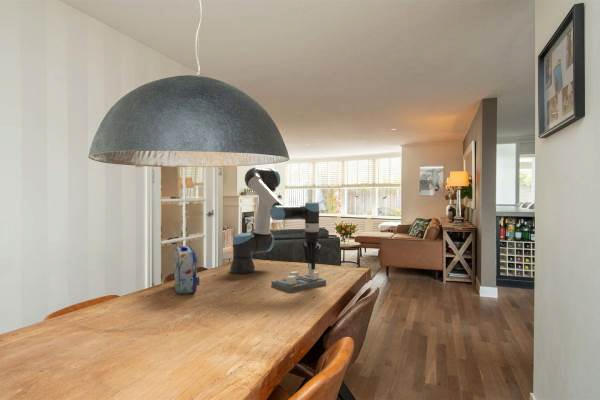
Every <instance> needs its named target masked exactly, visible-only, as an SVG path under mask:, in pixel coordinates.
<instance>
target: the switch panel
mask: <svg viewBox="0 0 600 400" xmlns="http://www.w3.org/2000/svg"><path fill="white" fill-rule="evenodd" d="M322 286H327V279H324V278H322V277H319V279H316V280H313V279H310V276H309V274H305V275H304V274H303V275H299V279H296V284H292V285H290V284H287V283H286V278H283V279H278V280H277V279H276V280H272V281H271V287H272V288H273V287H274V288H276V289H279V290H282V291H284V292H285V291H286V292H289V293H295V292H299V291H304V290H308V289H309V290H310V289H314V288H318V287H322Z"/></svg>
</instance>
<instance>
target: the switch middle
mask: <svg viewBox="0 0 600 400" xmlns="http://www.w3.org/2000/svg"><path fill="white" fill-rule="evenodd" d="M289 276H296V279H299V276H300V272H299V271H289Z"/></svg>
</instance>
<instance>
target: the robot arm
mask: <svg viewBox="0 0 600 400" xmlns="http://www.w3.org/2000/svg"><path fill="white" fill-rule="evenodd" d="M244 183H245V186H246V187H247V188H248V189H249V190H251V191H253V192H254V193H255V195H257V197H258V202H257V213H256V226H255V229H254V230H252V231H253V232H242V233H241V232H240V233H237V234H235V235H234V236H233V239H232V260H231V261H232V262H231V264H230V268H229V272H230V273H231V274H237V275H240V274H252V273H254V272H255V271H256V270H255V269H256V268H255V267H256V266H255V264H254V261H253V254H259V253H267V252H271V251H272V250H273V248H274V245H275V237H274V235H273V234H272V231H271V230H270V226H271V225H270V224H271V219H272V220H273V221H287V220H289V221H290V220H304V231H305V232H304V239H305V242H304V243H303V242H302V248H303V252H304V254H303V255H304V259H305V261H306V262H307V263H308V264H307V265H308V266H307V268H308V275H309V276H310V272H315V269H316V264H317V263H319V259H320V254H321V249H322V247H323V246H322V245H321V244H319V240H318V239H320V232H319V231H320V204H319V202H311V201H310V202H309V201H308V202H305V203H304V205H285V204H284V203H283V202H282V201H281V200H280V199H279V198H278V197H277V196H276V195H275V194H274V193H275V192H276V188H278V187H279V186H280V184H281V176H280V173H279V171H278V170H276V169H274V168H269V167H268V168H265V167H252V168H249V169H248V170H247V171H246V173H245V175H244Z"/></svg>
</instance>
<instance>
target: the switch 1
mask: <svg viewBox="0 0 600 400" xmlns="http://www.w3.org/2000/svg"><path fill="white" fill-rule="evenodd" d="M285 277H286V278H285V279H286V283H287V284H290V285H292V284H296V276H290V275H288V276H285Z"/></svg>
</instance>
